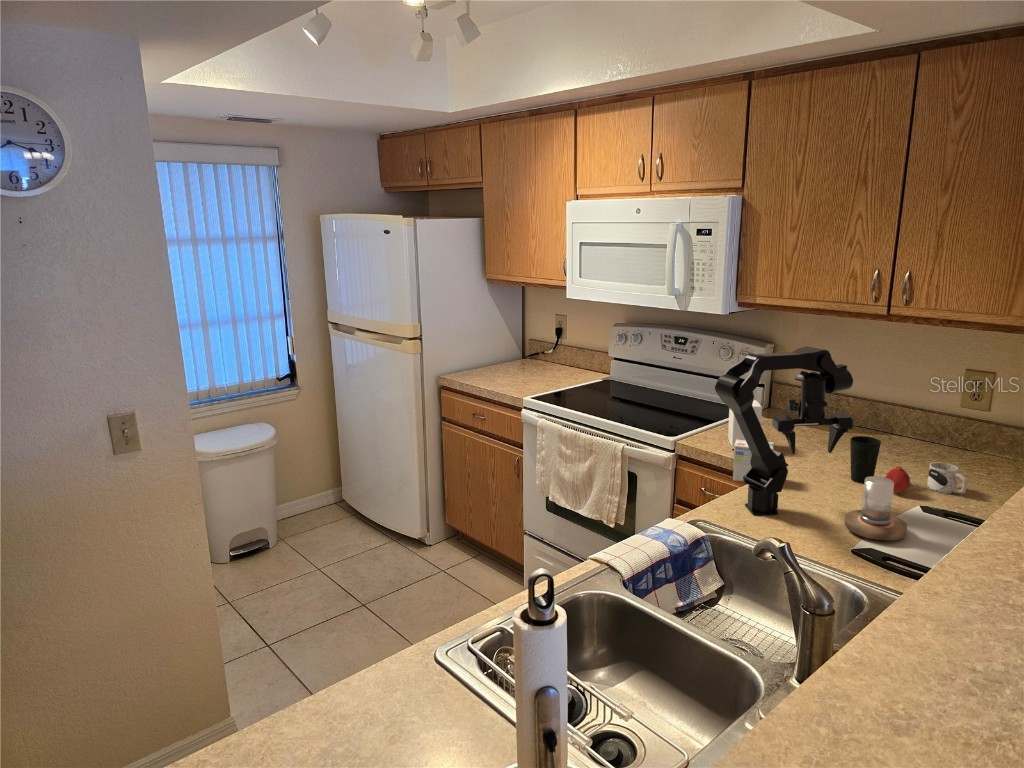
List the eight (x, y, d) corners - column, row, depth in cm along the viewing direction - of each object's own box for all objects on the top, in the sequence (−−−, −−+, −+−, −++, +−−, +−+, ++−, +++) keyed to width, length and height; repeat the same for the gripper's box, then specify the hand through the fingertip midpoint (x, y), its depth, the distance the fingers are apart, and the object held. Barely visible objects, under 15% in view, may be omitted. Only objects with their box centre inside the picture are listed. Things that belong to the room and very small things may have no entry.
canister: (860, 524, 157) (864, 483, 155) (859, 513, 162) (863, 474, 160) (891, 528, 154) (896, 487, 152) (889, 517, 160) (893, 478, 158)
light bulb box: (772, 477, 195) (774, 441, 193) (771, 485, 189) (774, 448, 187) (733, 473, 199) (735, 438, 197) (732, 480, 193) (733, 445, 191)
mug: (921, 487, 185) (923, 464, 183) (938, 483, 187) (941, 460, 186) (955, 500, 176) (959, 476, 174) (973, 496, 178) (976, 472, 177)
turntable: (862, 545, 152) (863, 533, 152) (834, 521, 165) (834, 510, 164) (918, 543, 153) (919, 531, 152) (886, 519, 165) (887, 508, 165)
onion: (886, 487, 185) (889, 460, 183) (910, 492, 182) (913, 464, 180) (881, 494, 181) (884, 466, 179) (906, 498, 177) (909, 470, 175)
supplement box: (760, 451, 218) (762, 406, 214) (731, 450, 219) (733, 406, 216) (754, 442, 226) (757, 399, 223) (727, 441, 228) (729, 399, 224)
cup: (852, 473, 196) (856, 434, 193) (880, 479, 191) (884, 439, 188) (842, 480, 191) (846, 440, 188) (871, 487, 186) (875, 446, 183)
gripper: (838, 386, 178) (836, 441, 182) (766, 389, 180) (765, 444, 184) (856, 397, 167) (853, 456, 171) (779, 401, 169) (778, 459, 173)
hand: (811, 453), depth 175 cm, fingers open, 9 cm apart
